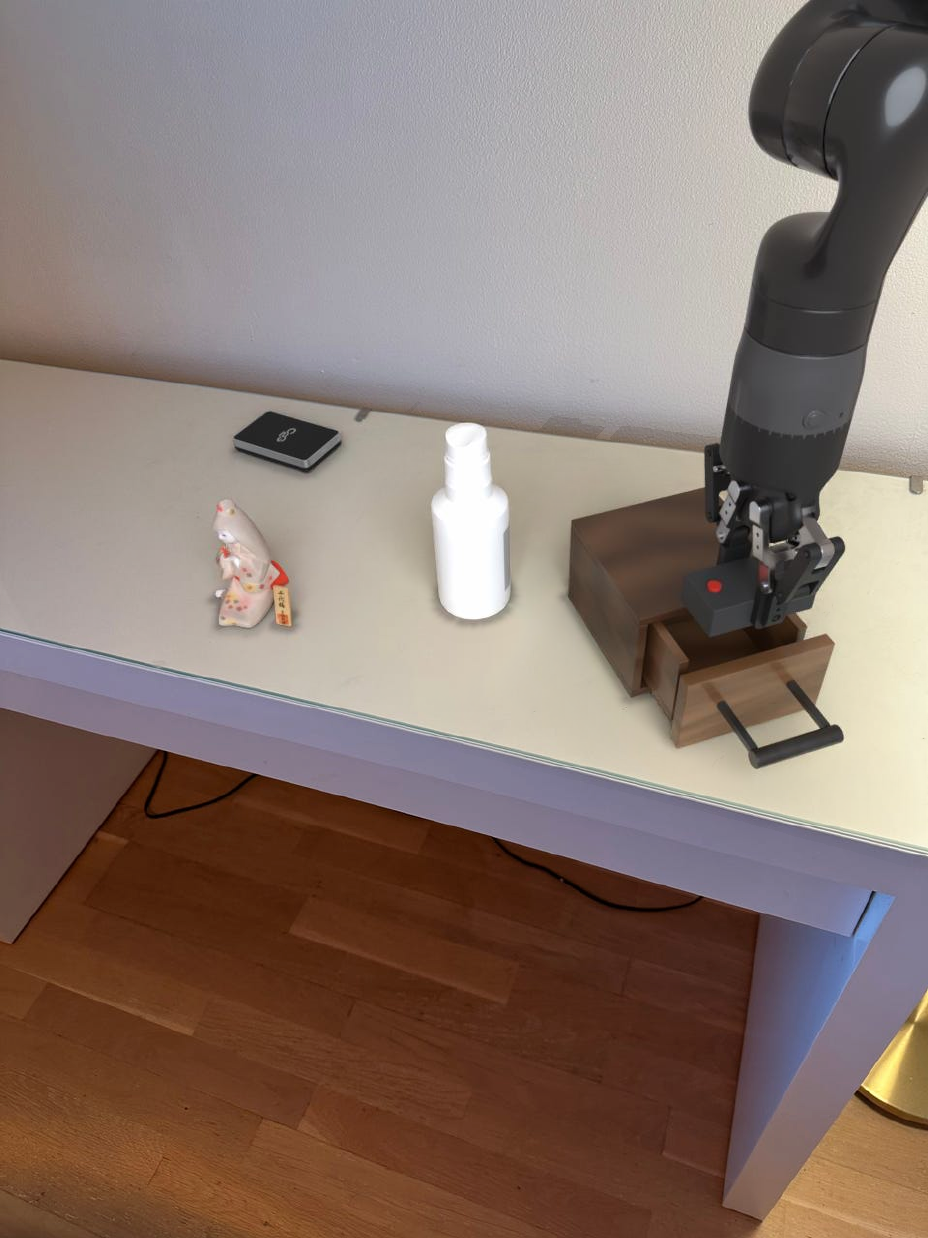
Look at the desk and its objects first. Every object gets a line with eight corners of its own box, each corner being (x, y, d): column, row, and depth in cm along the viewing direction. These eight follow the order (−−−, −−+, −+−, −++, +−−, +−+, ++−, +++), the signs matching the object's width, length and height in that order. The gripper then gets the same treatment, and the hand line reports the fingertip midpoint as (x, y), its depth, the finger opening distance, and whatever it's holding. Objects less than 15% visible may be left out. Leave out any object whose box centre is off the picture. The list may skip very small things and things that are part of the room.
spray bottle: (524, 588, 89) (523, 424, 76) (485, 630, 85) (477, 465, 72) (465, 564, 92) (455, 403, 79) (424, 604, 88) (407, 441, 75)
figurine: (194, 620, 88) (167, 506, 81) (238, 584, 93) (217, 475, 86) (273, 643, 84) (252, 526, 77) (314, 604, 89) (298, 492, 82)
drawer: (862, 764, 71) (887, 701, 66) (716, 811, 68) (731, 749, 63) (735, 608, 84) (748, 546, 79) (609, 643, 81) (614, 581, 76)
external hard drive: (271, 424, 112) (268, 409, 111) (345, 446, 108) (343, 431, 107) (233, 453, 108) (230, 438, 107) (309, 477, 104) (306, 462, 103)
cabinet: (773, 656, 81) (794, 577, 74) (631, 697, 78) (639, 619, 72) (697, 562, 90) (710, 485, 84) (567, 596, 88) (570, 519, 81)
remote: (779, 572, 71) (786, 543, 69) (812, 608, 68) (820, 579, 66) (679, 599, 70) (684, 570, 68) (708, 638, 67) (714, 608, 65)
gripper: (919, 443, 53) (848, 653, 65) (781, 335, 63) (741, 534, 75) (803, 472, 51) (752, 681, 63) (681, 357, 61) (656, 556, 73)
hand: (746, 600), depth 69 cm, fingers closed on remote, 4 cm apart
